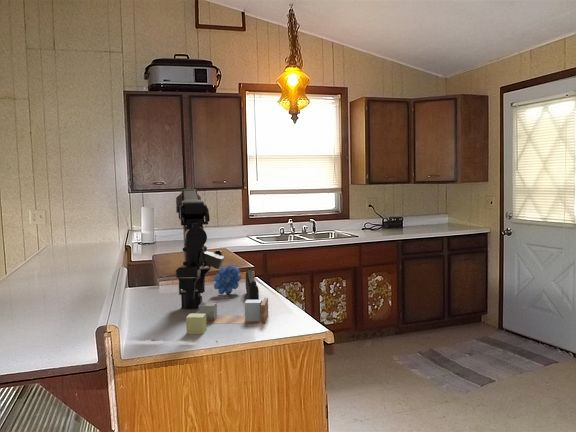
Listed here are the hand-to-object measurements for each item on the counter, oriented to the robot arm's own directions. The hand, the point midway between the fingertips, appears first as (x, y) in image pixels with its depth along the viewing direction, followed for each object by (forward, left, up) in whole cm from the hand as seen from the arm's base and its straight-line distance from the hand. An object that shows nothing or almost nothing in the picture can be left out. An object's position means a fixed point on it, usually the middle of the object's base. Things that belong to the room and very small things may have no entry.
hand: (196, 295), depth 140 cm
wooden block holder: (+8, +12, -12) cm, 19 cm away
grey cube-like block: (0, +12, -11) cm, 17 cm away
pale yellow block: (0, 0, -12) cm, 12 cm away
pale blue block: (+15, +12, -11) cm, 22 cm away
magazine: (+10, +39, -12) cm, 42 cm away
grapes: (-2, +51, -12) cm, 52 cm away
